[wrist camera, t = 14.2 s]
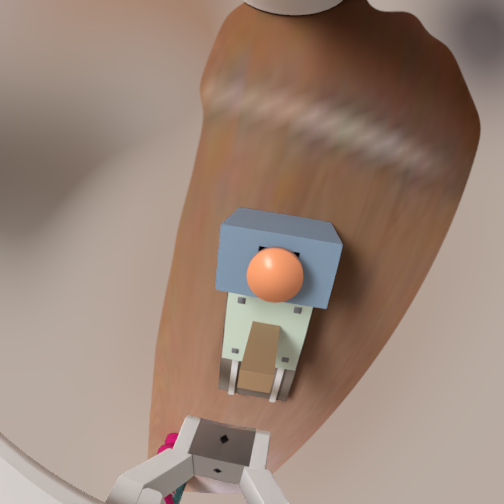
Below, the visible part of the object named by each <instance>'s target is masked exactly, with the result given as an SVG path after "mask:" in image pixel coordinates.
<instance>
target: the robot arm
mask: <svg viewBox="0 0 504 504" xmlns="http://www.w3.org/2000/svg"><path fill="white" fill-rule="evenodd" d="M243 1H244V2H246V3H247V4H249V5H251V6H253V7H255V8H258V9H260V10H263V11H267V12H271V13H276V14H283V15H306V14H313V13H318V12H322V11H325V10H327V9H330V8H332V7H334V6H336V5H337V4H339V3H340V2H341V1H343V0H243ZM270 435H271V434H270V431H264V430H256V429H253V428H247V427H241V426H235V425H230V424H229V425H228V424H224V423H219V422H215V421H211V420H207V419H203V418H200V417H196V416H192V415H187V417H186V418H185V420H184V423H183V425H182V428H181V430H180V432H179V435H178V437H177V440H176V442H175V444H174V447H173V449H171V448H168V449H166V450H164V451H163V452H161V453H159V454H157V455H156V456H154V457H152V458H150V459H149V460H147V461H145V462H144V463H142V464H140V465H138V466H136V467H134V468H132V469H130V470H128V471H127V472H125V473H123V474H121V475H119V477H118V479H117V481H116V483H115V485H114V487H113V489H112V491H111V493H110V494H109V496H108V499H107V500H106V502H105V503H104V502H102V501H100V500H98V499H96V498H94V497H93V496H90V495H89V494H87V493H85V492H83V491H82V490H80V489H78V488H76V487H74V486H73V485H71V484H69V483H68V482H66V481H64V480H63V479H61V478H60V477H58V476H57V475H55V474H54V473H52V472H50V471H49V470H47V469H46V468H45V467H43V466H42V465H40V464H39V463H38V462H36V461H35V460H33V459H32V458H31V457H30V456H28V455H27V454H26V453H24V452H23V451H22V450H20V449H19V448H18V447H17V446H16V445H14V444H13V443H12V442H11V441H10V440H8V439H7V438H6V437H5V436H4V435H3V434H2V433H1V432H0V504H166V502H165V500H164V497H166V496H167V495H169V494H170V493H171V492H173V491H174V490H176V489H177V488H178V487H180V486H181V485H182V484H184V483H185V482H186V481H188V480H189V479H190V478H192V477H193V476H194V475H198V476H203V477H207V478H212V479H217V480H221V481H225V482H230V483H235V484H239V486H240V488H241V491H242V493H243V495H244V497H245V499H246V502H247V503H248V504H290V503H289V501H288V500H287V498H286V497H285V495H284V493H283V492H282V490H281V488H280V487H279V485H278V483H277V482H276V480H275V478H274V477H273V475H272V473H271V471H270V470H266V463H267V456H268V449H269V442H270Z"/></svg>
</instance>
